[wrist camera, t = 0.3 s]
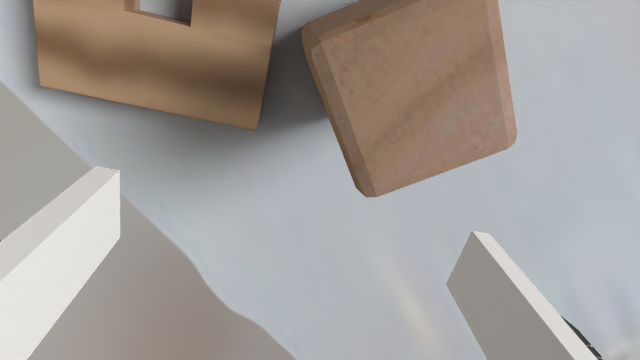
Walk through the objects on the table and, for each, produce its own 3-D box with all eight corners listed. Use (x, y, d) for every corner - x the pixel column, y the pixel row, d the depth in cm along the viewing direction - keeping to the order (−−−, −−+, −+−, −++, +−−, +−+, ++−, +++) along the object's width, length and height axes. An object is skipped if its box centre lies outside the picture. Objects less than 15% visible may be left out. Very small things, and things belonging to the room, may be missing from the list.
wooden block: (297, 27, 35) (300, 45, 17) (392, -14, 34) (501, -41, 16) (332, 118, 40) (363, 208, 22) (418, 84, 39) (527, 148, 21)
